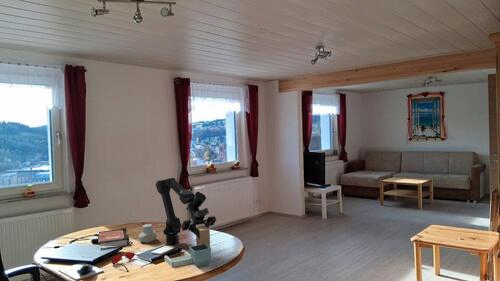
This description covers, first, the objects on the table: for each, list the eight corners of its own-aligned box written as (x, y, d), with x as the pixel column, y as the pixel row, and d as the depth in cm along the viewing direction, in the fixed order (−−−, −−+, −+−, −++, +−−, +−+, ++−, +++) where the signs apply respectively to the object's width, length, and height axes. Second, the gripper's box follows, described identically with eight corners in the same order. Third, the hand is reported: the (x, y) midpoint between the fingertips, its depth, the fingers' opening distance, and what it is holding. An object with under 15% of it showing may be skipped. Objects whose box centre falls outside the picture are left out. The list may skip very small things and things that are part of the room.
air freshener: (140, 244, 229) (139, 228, 229) (138, 241, 237) (137, 225, 237) (158, 241, 234) (157, 225, 234) (155, 238, 241) (155, 222, 241)
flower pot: (195, 269, 185) (194, 251, 185) (189, 264, 193) (188, 246, 192) (212, 265, 189) (211, 248, 189) (205, 260, 197) (205, 243, 197)
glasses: (134, 258, 206) (133, 249, 206) (152, 264, 195) (151, 255, 195) (110, 266, 195) (109, 256, 195) (128, 273, 185) (127, 262, 184)
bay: (164, 260, 199) (164, 255, 199) (186, 255, 205) (186, 251, 205) (172, 267, 189) (172, 262, 189) (194, 262, 195) (194, 257, 195)
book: (98, 238, 247) (97, 231, 246) (126, 235, 253) (125, 227, 253) (98, 250, 222) (97, 241, 222) (129, 245, 229) (129, 237, 229)
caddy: (196, 247, 205) (195, 227, 204) (204, 245, 207) (204, 225, 207) (201, 250, 198) (200, 230, 198) (210, 249, 201) (209, 228, 201)
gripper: (182, 205, 201) (191, 231, 192) (214, 201, 210) (224, 225, 201) (177, 217, 208) (185, 242, 199) (208, 212, 217) (217, 236, 208)
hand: (203, 236), depth 201 cm, fingers closed on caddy, 5 cm apart
